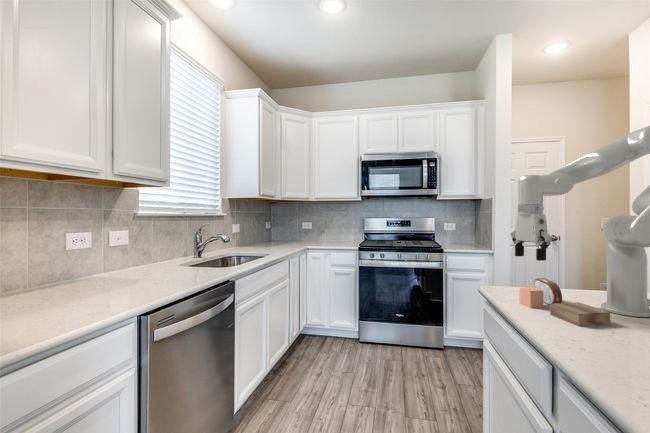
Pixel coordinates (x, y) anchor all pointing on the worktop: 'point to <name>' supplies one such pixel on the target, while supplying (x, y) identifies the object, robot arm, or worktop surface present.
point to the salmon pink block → (531, 297)
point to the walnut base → (580, 314)
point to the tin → (549, 291)
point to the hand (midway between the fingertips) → (529, 258)
